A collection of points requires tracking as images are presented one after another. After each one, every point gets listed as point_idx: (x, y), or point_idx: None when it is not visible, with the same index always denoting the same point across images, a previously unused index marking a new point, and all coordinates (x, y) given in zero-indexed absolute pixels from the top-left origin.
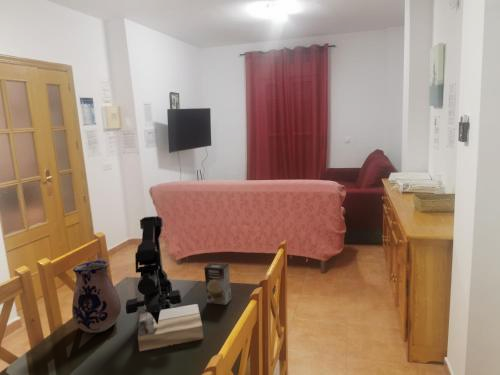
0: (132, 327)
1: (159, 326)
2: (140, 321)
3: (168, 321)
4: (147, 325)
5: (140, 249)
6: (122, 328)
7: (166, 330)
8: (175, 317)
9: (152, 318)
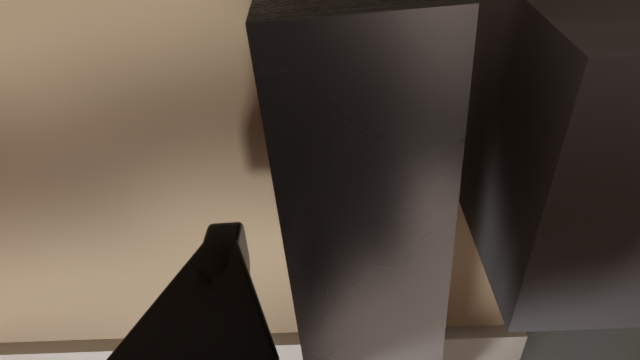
0: (529, 351)
1: (208, 197)
2: (622, 302)
3: (83, 289)
4: (475, 15)
5: None
6: (614, 357)
7: (7, 4)
8: (11, 351)
9: (312, 343)
